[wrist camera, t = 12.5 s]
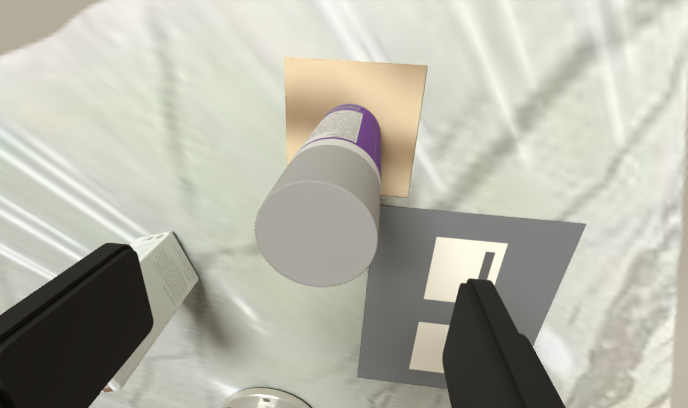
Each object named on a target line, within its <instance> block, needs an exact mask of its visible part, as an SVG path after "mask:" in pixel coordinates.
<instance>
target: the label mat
mask: <svg viewBox="0 0 688 408" xmlns="http://www.w3.org/2000/svg"><path fill="white" fill-rule="evenodd" d="M585 226H586V224H582V223H571V222H560V221H548V220H537V219H526V218H515V217H504V216H493V215H482V214H471V213H459V212H448V211H437V210H426V209H415V208H404V207H393V206H381V205H380V214H379V231H378V245H377V250H376V253H375V256H374V258H373V260H372V262H371V263H370V265H369V274H368V283H367V293H366V302H365V312H364V321H363V330H362V340H361V349H360V359H359V368H358V378H365V379H373V380H381V381H389V382H397V383H405V384H413V385H421V386H429V387H437V388H445V389H448V388H447V383H446V378H445V374H444V369H443V363H442V355H443V350H444V346H445V342H446V338H447V333H448V329H449V325H450V321H451V317H452V313H453V309H454V305H455V301H456V297H457V293H458V289H459V286H460V284H461V283H466V282H467V280H468V279H469V278H472V279H482V280H490V281H492V282H493V284H494V286H495V288H496V290H497V292H498V294H499V296H500V297H501V299H502V301H503V303H504V305H505V307H506V309H507V311H508V313H509V315H510V317H511V319H512V321H513V323H514V324H515V326H516V328H517V330H518V332H519V333H521V334H523V335H525V336H526V337H527V338H528V340H529V341H530V343H531V345H532V347H533V345H534V342H535V340H536V338H537V335H538V333H539V331H540V329H541V326H542V324H543V322H544V319H545V317H546V315H547V313H548V310H549V308H550V306H551V304H552V301H553V299H554V297H555V294H556V292H557V290H558V288H559V285H560V283H561V281H562V278H563V276H564V274H565V272H566V269H567V267H568V265H569V262H570V260H571V258H572V256H573V253H574V251H575V249H576V247H577V244H578V242H579V240H580V237H581V235H582V233H583V231H584V228H585Z"/></svg>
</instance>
